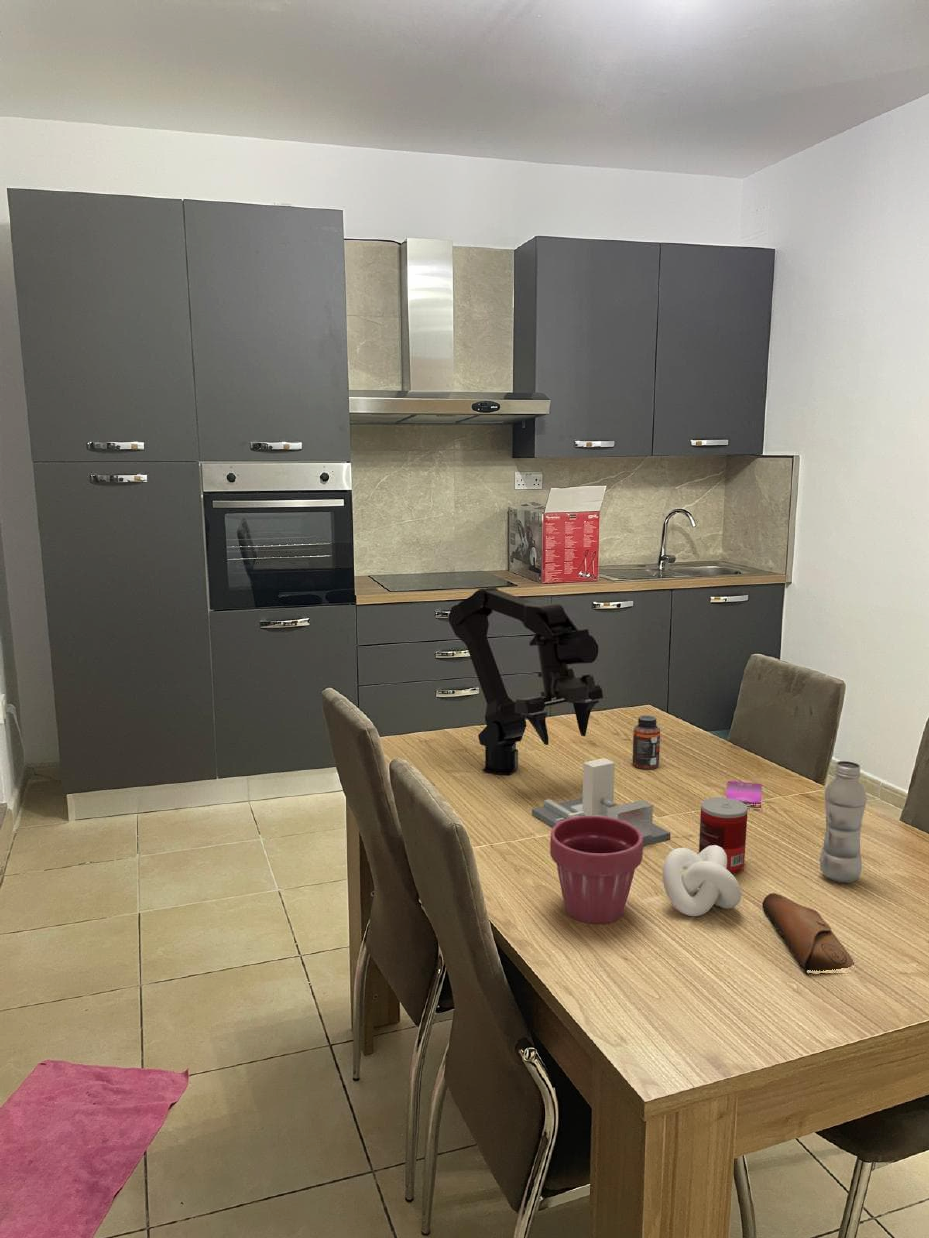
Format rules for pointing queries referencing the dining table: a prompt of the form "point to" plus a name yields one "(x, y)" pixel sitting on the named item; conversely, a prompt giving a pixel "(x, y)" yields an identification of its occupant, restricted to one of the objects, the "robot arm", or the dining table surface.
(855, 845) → the plastic bottle
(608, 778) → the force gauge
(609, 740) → the dining table surface
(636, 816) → the grey block with recess
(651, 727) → the supplement bottle
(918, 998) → the dining table surface
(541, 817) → the track
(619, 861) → the plant pot
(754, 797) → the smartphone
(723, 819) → the canned food
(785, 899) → the sunglasses case
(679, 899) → the white knot sculpture
